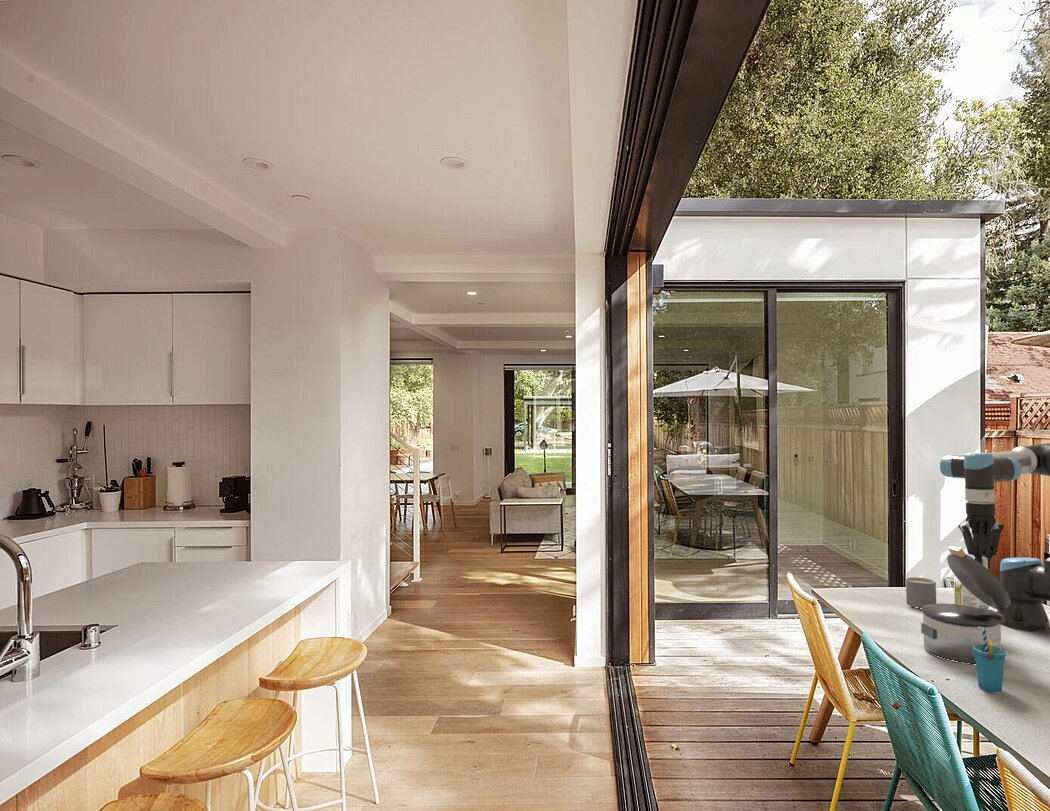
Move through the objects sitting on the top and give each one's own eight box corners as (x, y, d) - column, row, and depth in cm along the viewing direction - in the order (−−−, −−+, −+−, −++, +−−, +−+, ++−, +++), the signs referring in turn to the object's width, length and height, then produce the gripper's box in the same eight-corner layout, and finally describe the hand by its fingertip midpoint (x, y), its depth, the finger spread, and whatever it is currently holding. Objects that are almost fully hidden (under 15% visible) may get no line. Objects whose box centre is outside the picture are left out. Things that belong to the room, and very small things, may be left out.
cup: (964, 675, 184) (963, 622, 184) (997, 679, 181) (995, 625, 181) (980, 696, 171) (979, 639, 171) (1015, 700, 168) (1014, 642, 168)
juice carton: (992, 639, 212) (991, 581, 213) (965, 639, 213) (964, 581, 213) (977, 631, 220) (976, 575, 220) (951, 631, 220) (950, 576, 221)
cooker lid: (972, 599, 211) (981, 593, 211) (1018, 618, 191) (1027, 611, 191) (932, 543, 211) (940, 537, 211) (973, 557, 191) (983, 550, 191)
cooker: (976, 641, 211) (975, 603, 211) (1024, 665, 190) (1022, 623, 190) (908, 642, 211) (907, 603, 211) (949, 666, 190) (947, 624, 191)
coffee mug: (937, 611, 243) (936, 584, 243) (906, 607, 248) (905, 581, 248) (935, 602, 255) (934, 576, 255) (906, 598, 260) (905, 574, 260)
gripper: (967, 504, 198) (970, 581, 197) (1009, 503, 197) (1012, 580, 197) (951, 501, 205) (954, 575, 205) (992, 500, 205) (995, 574, 205)
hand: (983, 577), depth 201 cm, fingers closed
